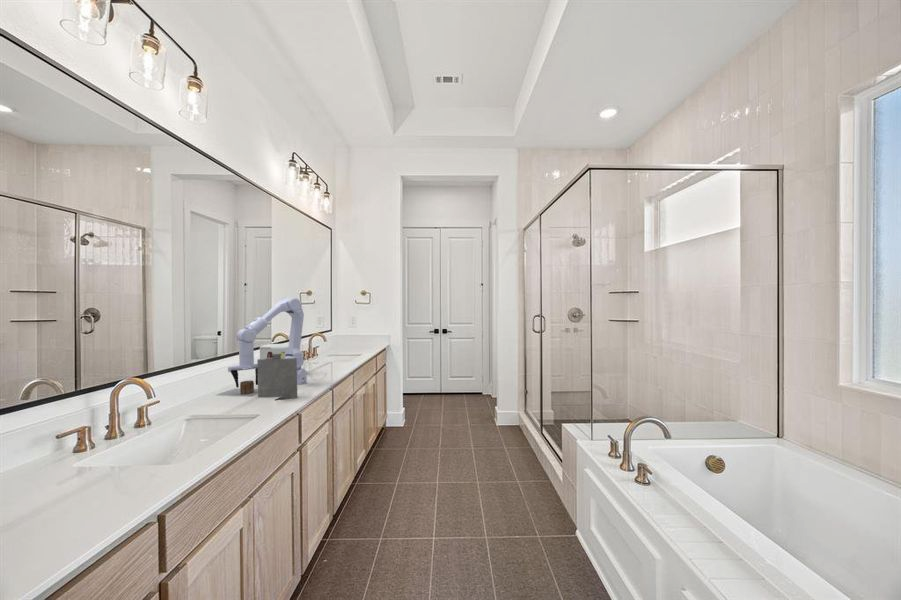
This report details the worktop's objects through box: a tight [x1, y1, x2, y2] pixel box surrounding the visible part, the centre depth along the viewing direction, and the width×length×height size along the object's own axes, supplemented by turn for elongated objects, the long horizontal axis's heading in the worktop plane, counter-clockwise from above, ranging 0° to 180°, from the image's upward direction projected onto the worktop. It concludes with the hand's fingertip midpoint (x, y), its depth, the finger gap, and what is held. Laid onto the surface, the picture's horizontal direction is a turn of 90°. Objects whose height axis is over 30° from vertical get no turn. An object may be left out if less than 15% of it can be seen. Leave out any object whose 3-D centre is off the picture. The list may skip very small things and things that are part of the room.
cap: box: [239, 380, 255, 394], centre depth 165 cm, size 5×5×5 cm
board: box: [216, 388, 258, 397], centre depth 167 cm, size 18×12×2 cm, turn 81°
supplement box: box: [259, 343, 289, 359], centre depth 209 cm, size 17×13×18 cm
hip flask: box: [256, 353, 298, 401], centre depth 160 cm, size 16×4×20 cm, turn 100°
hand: (247, 385), depth 165 cm, fingers open, 7 cm apart
